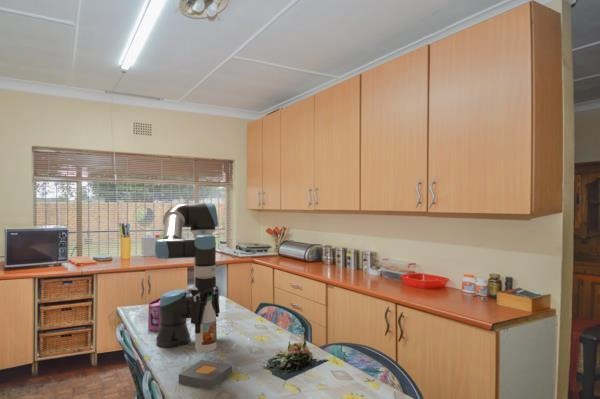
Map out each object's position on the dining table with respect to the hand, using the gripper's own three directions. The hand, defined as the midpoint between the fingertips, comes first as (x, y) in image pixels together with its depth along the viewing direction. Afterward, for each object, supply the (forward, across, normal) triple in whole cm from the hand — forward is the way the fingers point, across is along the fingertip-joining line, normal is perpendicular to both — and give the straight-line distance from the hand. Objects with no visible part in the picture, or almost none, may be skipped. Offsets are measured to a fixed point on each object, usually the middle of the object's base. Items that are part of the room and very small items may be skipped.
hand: (205, 337), depth 149 cm
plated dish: (+16, +26, -24) cm, 39 cm away
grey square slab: (+15, 0, 0) cm, 15 cm away
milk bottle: (+4, 0, 0) cm, 4 cm away
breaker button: (+14, 0, 0) cm, 14 cm away
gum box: (+15, +47, +58) cm, 76 cm away
